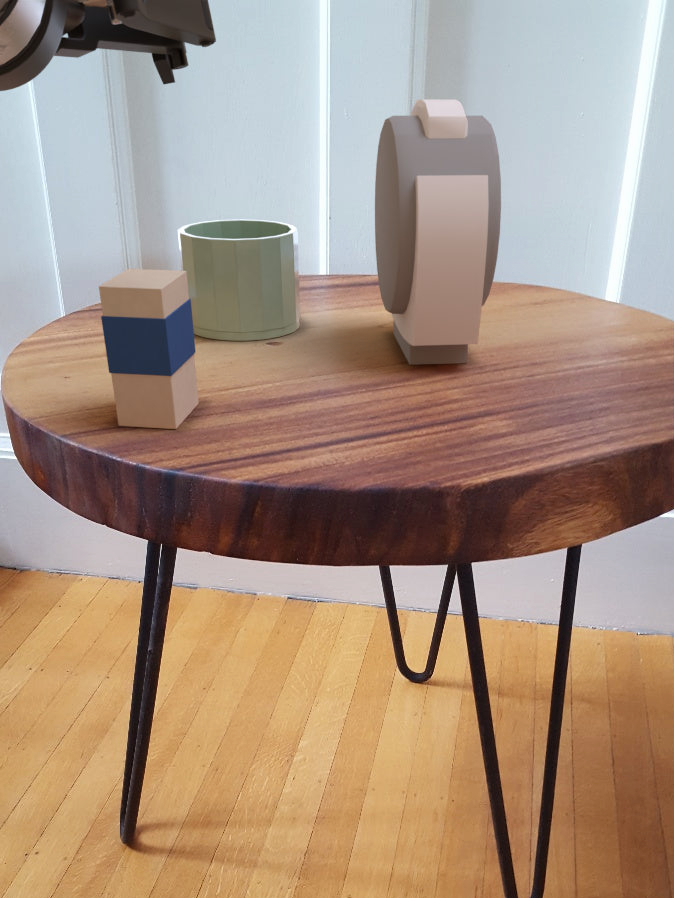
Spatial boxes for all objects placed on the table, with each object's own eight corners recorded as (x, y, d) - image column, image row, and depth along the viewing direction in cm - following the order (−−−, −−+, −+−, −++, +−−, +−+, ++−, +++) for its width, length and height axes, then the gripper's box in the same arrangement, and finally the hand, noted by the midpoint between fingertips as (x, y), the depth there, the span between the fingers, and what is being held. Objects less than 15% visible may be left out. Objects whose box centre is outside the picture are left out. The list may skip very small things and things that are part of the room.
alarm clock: (493, 375, 83) (513, 107, 72) (396, 377, 82) (402, 106, 71) (453, 322, 98) (465, 93, 87) (371, 324, 97) (373, 93, 86)
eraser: (116, 426, 72) (96, 286, 66) (143, 400, 77) (127, 268, 71) (177, 429, 71) (162, 289, 66) (200, 403, 76) (188, 270, 71)
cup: (173, 338, 92) (162, 237, 87) (205, 310, 101) (197, 217, 96) (287, 343, 91) (283, 241, 86) (308, 314, 100) (306, 221, 95)
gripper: (-307, 127, 40) (-124, 181, 60) (271, 24, 41) (266, 110, 61) (-391, -86, 38) (-170, 43, 57) (232, -191, 39) (239, -29, 58)
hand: (55, 78), depth 59 cm, fingers open, 13 cm apart
